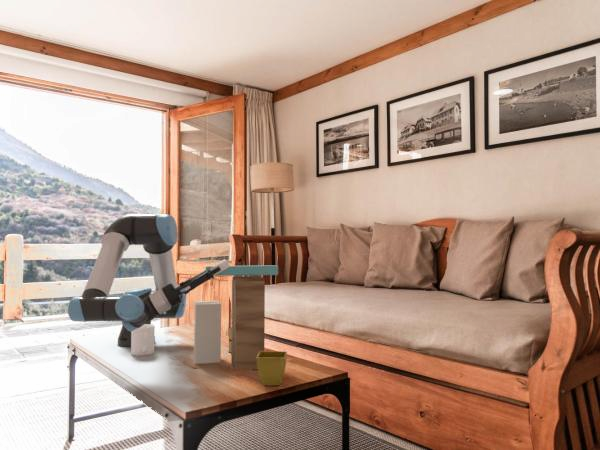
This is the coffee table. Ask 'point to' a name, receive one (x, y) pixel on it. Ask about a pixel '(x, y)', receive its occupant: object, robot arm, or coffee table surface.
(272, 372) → the flower pot
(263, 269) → the block
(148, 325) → the mug
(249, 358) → the stand
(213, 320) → the tall white pillar
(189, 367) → the coffee table surface
